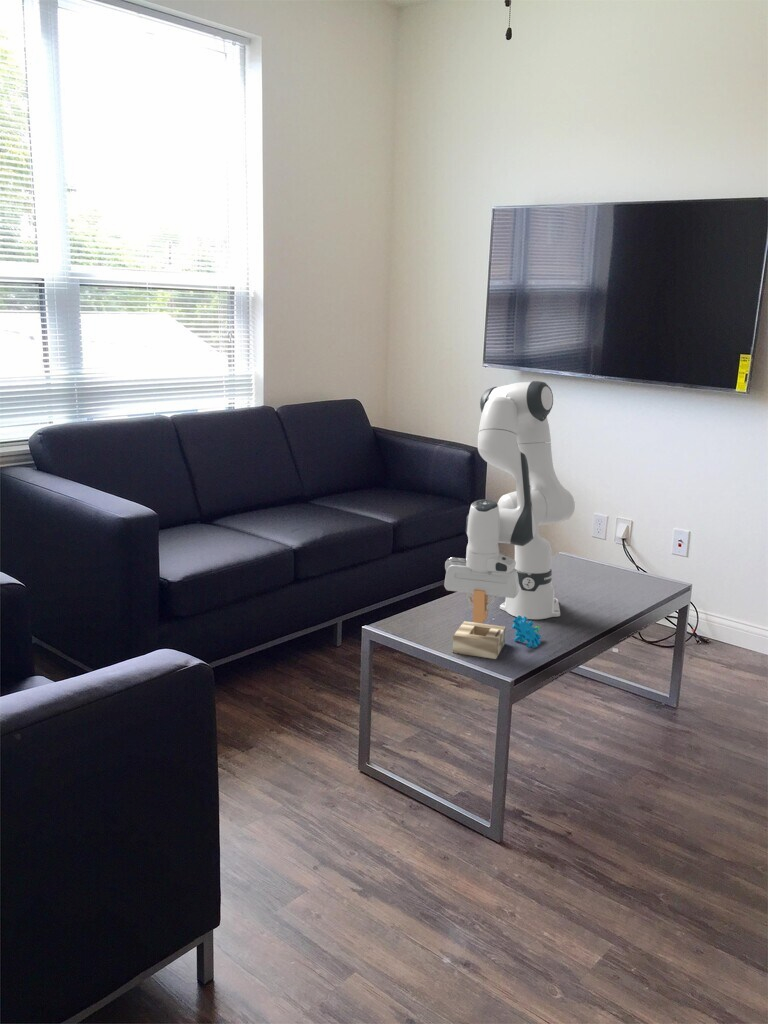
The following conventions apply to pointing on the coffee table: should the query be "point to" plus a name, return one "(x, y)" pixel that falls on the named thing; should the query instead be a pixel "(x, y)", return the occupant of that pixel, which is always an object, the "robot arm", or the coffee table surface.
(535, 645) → the gear
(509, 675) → the coffee table surface
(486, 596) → the key peg
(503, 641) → the block
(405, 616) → the coffee table surface
